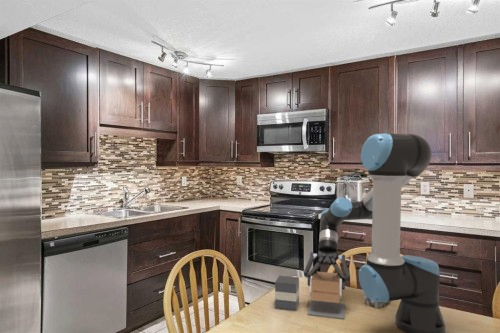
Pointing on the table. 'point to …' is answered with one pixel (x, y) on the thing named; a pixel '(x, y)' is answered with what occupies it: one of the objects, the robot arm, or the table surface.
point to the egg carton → (376, 304)
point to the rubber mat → (327, 309)
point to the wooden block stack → (325, 287)
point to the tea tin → (287, 293)
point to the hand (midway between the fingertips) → (325, 295)
